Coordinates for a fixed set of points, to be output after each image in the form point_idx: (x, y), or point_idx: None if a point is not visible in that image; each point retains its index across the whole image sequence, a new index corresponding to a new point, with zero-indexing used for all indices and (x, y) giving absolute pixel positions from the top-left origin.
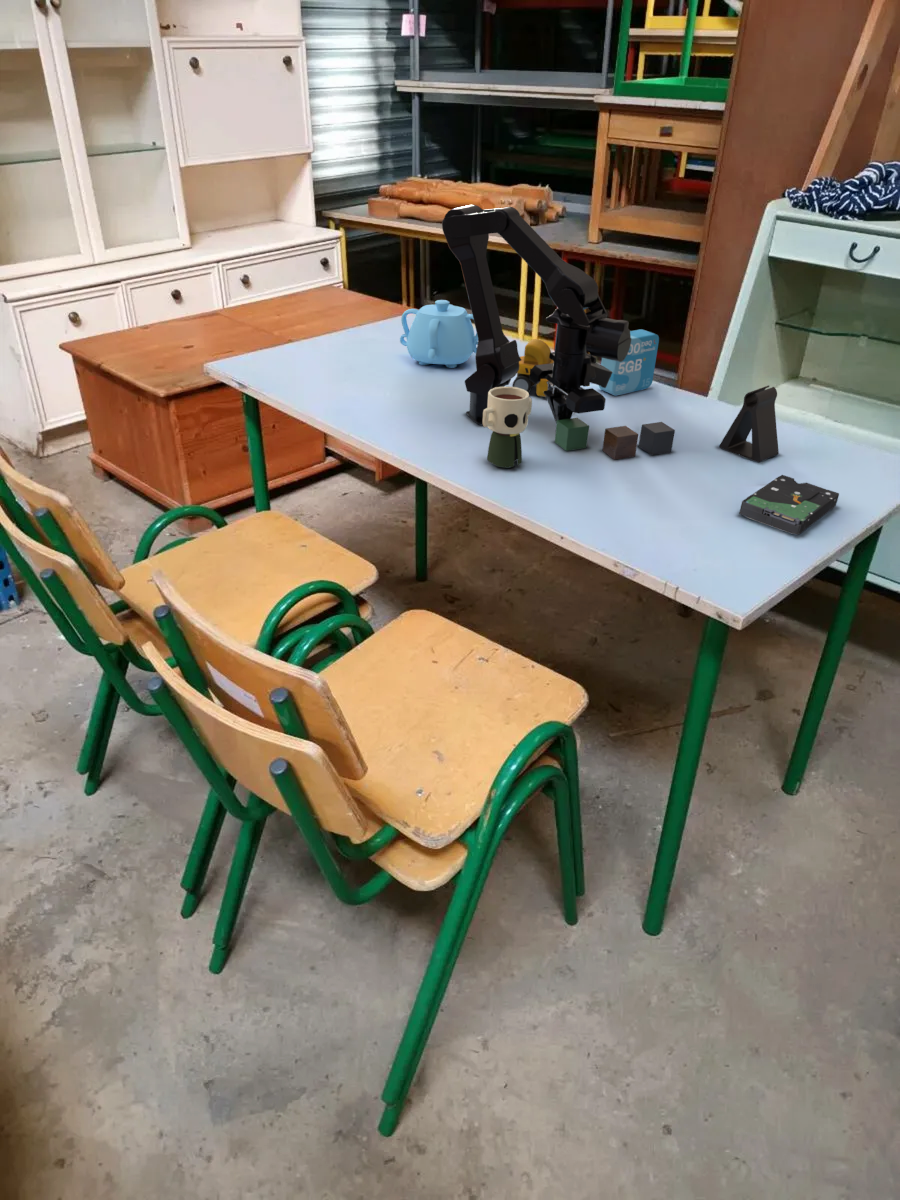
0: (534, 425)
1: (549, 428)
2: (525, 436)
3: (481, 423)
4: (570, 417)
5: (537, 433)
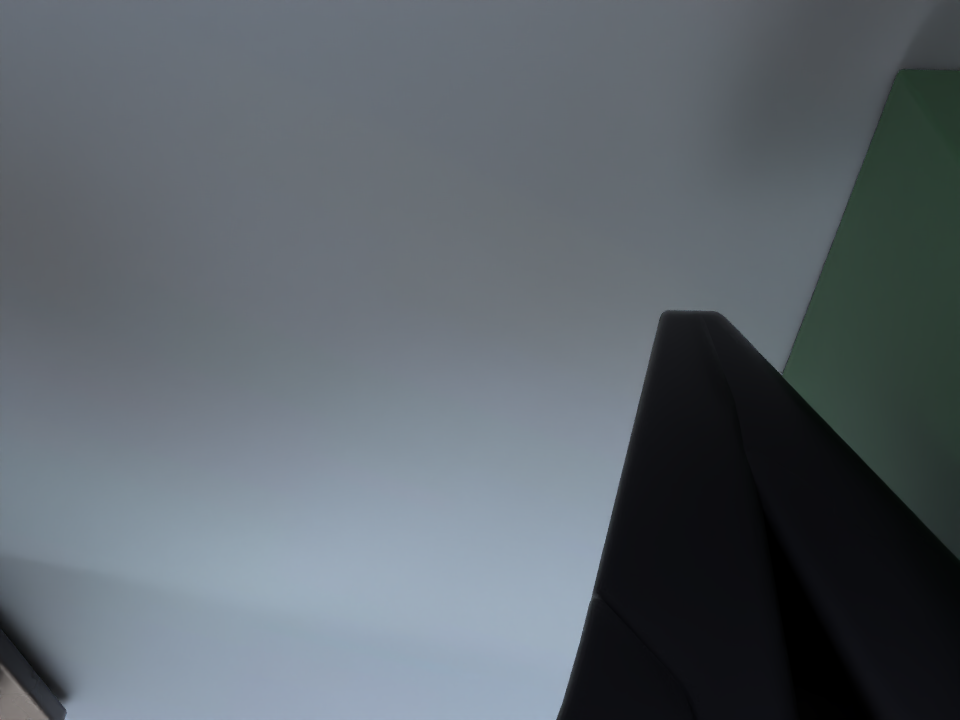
0: (54, 359)
1: (207, 228)
2: (426, 556)
3: (58, 716)
4: (952, 563)
5: (375, 438)
